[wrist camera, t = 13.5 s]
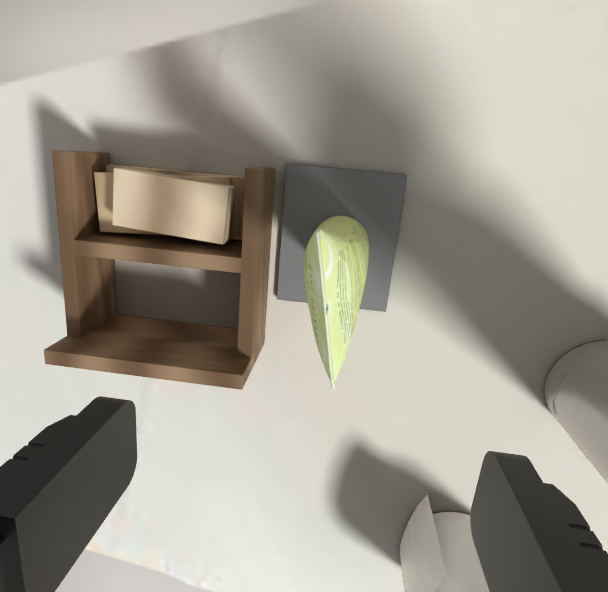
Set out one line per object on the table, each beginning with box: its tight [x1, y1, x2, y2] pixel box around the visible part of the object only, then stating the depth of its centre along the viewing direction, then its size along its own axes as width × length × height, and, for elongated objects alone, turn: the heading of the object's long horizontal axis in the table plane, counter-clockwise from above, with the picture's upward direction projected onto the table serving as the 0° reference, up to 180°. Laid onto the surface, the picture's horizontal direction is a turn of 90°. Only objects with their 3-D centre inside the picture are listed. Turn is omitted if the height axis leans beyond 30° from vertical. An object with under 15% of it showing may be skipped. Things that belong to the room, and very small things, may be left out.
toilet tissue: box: [400, 494, 489, 592], centre depth 42 cm, size 11×12×10 cm
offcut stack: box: [94, 165, 245, 244], centre depth 36 cm, size 12×5×5 cm, turn 85°
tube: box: [304, 216, 369, 389], centre depth 29 cm, size 6×5×20 cm
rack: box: [44, 150, 275, 390], centre depth 36 cm, size 16×16×9 cm
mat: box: [277, 164, 406, 312], centre depth 38 cm, size 10×12×1 cm
